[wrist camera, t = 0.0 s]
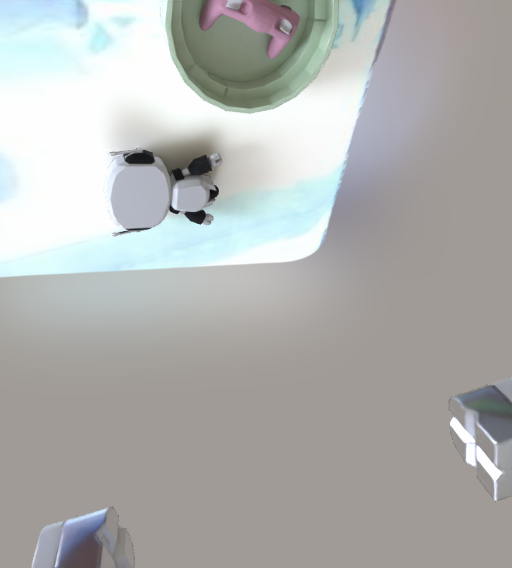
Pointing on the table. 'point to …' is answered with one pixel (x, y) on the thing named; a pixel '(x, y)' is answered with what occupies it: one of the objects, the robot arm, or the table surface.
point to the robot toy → (157, 190)
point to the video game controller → (255, 19)
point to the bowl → (247, 54)
